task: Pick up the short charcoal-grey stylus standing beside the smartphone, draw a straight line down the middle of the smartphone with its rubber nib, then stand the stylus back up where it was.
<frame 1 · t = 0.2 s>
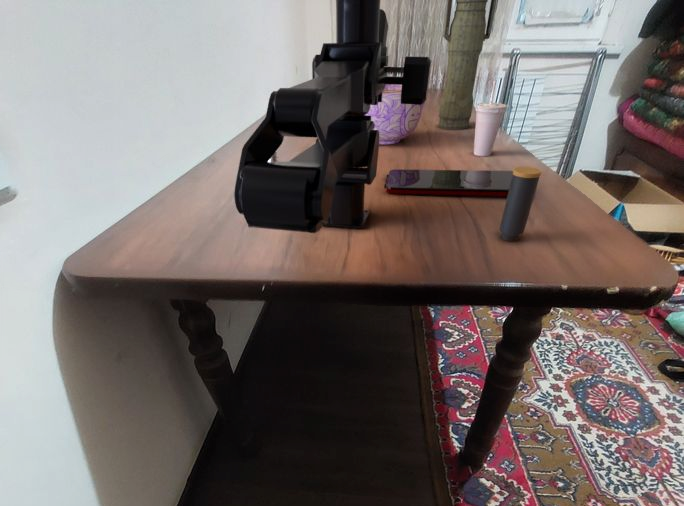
hand: (378, 76, 71), 16 cm above the table, tool horizontal, fingers open, 9 cm apart
screw: (277, 211, 67), on the table
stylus: (509, 238, 57), on the table
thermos: (452, 127, 117), on the table
smartphone: (453, 187, 75), on the table
smoothie: (481, 155, 92), on the table
bowl of food: (384, 141, 105), on the table
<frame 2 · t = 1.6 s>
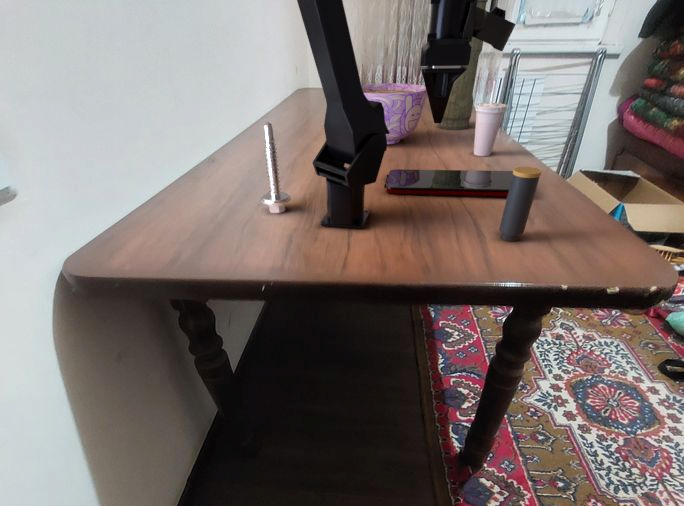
hand: (439, 117, 63), 12 cm above the table, tool pointing down, fingers open, 9 cm apart
nothing on the table moved.
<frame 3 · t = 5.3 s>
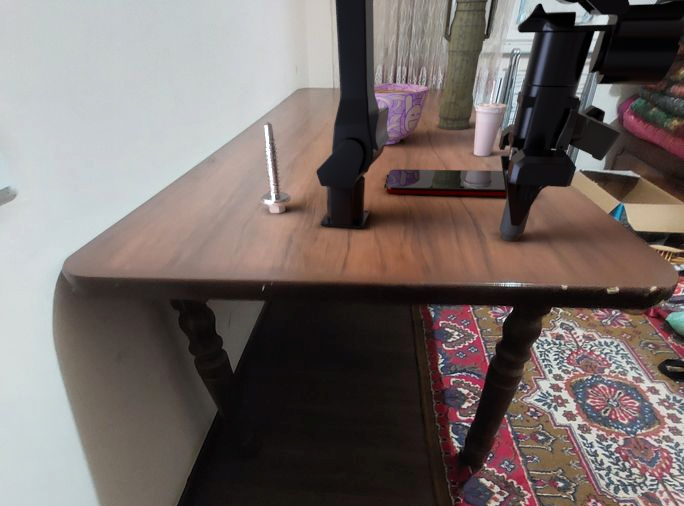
hand: (514, 220, 55), 3 cm above the table, tool pointing down, fingers closed on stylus, 3 cm apart
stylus: (509, 238, 57), on the table, touching gripper
everything else where it was.
when the fingers open (2 cm above the table, at t = 20.2 s): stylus stays where it is, on the table.
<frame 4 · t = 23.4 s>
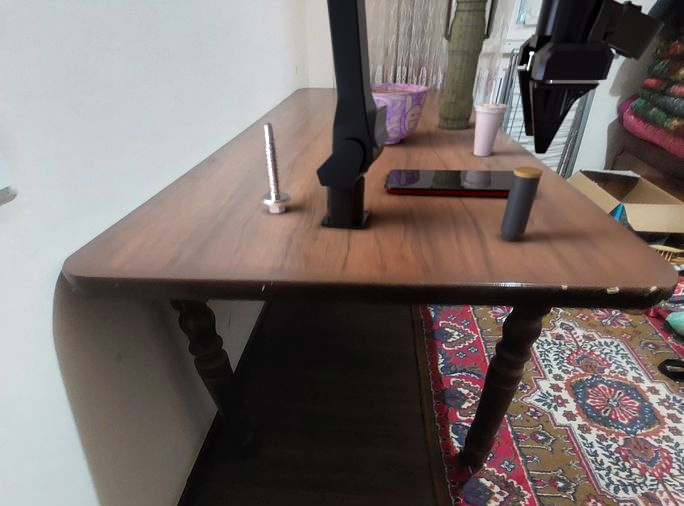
hand: (534, 144, 49), 12 cm above the table, tool pointing down, fingers open, 9 cm apart
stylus: (510, 238, 57), on the table
everything else where it was.
at the end: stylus inside the target area (0.1 cm from its centre), on the table; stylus tilted 0°; smartphone moved 0.2 cm from its start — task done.
